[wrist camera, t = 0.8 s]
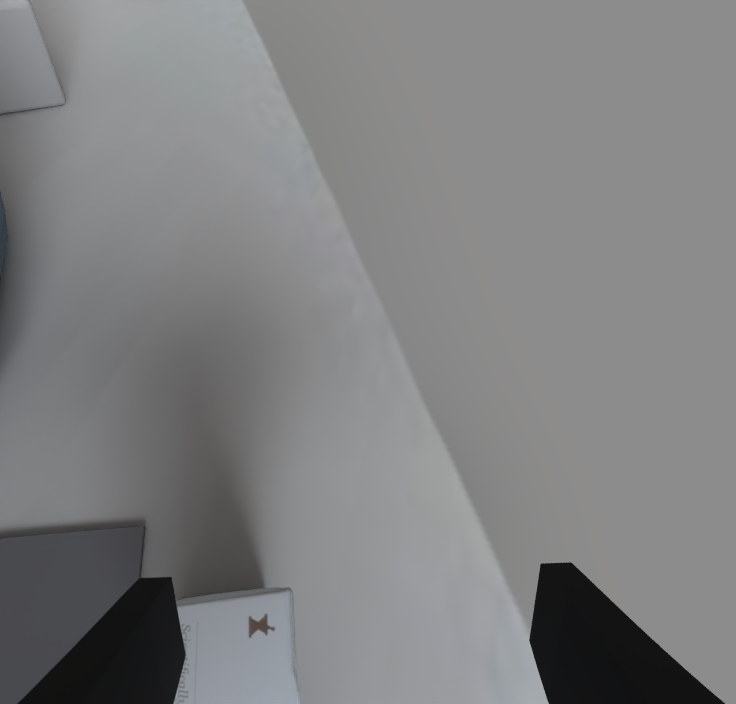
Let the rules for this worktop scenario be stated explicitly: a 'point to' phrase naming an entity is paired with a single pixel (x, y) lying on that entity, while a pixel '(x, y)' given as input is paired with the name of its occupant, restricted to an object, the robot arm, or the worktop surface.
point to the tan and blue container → (2, 234)
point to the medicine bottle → (25, 61)
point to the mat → (58, 596)
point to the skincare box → (239, 648)
